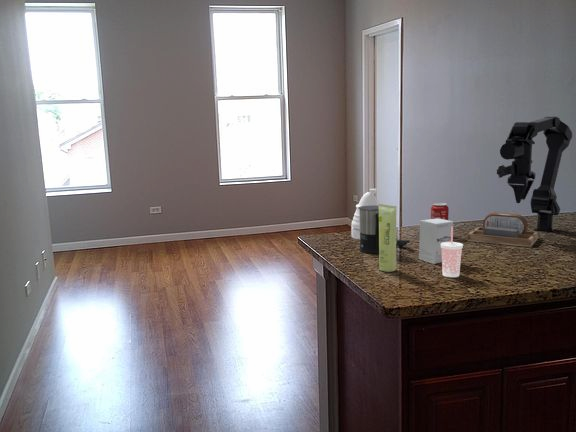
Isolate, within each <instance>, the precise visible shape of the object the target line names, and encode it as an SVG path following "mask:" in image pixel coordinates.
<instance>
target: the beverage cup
mask: <svg viewBox="0 0 576 432" xmlns="http://www.w3.org/2000/svg"><path fill="white" fill-rule="evenodd" d="M453 238H454V226H453V227H451V242H443V243H441V248H442V262H441V267H442V269H441V271H442V276H444V277H446V278H458V277H460V273H461V262H462V261H461V260H462V251H463V248H464V243H461V242H456V241H454V239H453Z"/></svg>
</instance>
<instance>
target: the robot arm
mask: <svg viewBox="0 0 576 432" xmlns="http://www.w3.org/2000/svg"><path fill="white" fill-rule="evenodd" d="M541 132H542V133H543V135H544V136H545V138H546V139H545V143H546V146H547V148H548V150H547V151H548V152H547V155H546V160H545V164H544V169H543V172H542V173H543V174H542V176H541V180H540V185H539V187H538V188H534V189H533V191H532V196H531V198H530V208H531V213H532V214H536V226H535V227H534V228H533V230H535V231H545V232H553V231H554V230H555V229H556V227H555V226H554V216H559V214H560V211H561V207H560V206H559V204H558V202H557V194H556V191H555V185H556V181H557V177H558V172H559V169H560V164H561V160H562V155H563V152H564V151H565V150H566V149H567V148H569V145H570V143H571V140H572V139H573V131H572V130H571V128H570V127H569V125H567V124H566V123H565V122H563V121H562V120H561V119H560V117H558V116H544V117H542V118H540V119H539V118H538V119H536V120H532V121H516V122H514V124H513V125H512V126H511V129H510V131H509V134H508V136H507V139H506V140H505V143H504V144H502V145H501V147H500V149H499V154H500V157H501V158H502V159H503V160H512V162H511V164H510V165H507V166H505V165H504V164H502V165H500V166H498V167H497V169H496V175H498V178H499V179H501V178H504V177H506V176H508V178H507V181H506V182H507V184H508V186H509V187H511V188H512V189H513V193H514V198H515V201H516V204H520V203H521V201H522V200H523V201H525V200H526V198H527V196H528V194H529V192H530V189H531V188H532V186H533V184H534V182H535V179H536V172H535V171H533V170H532V164H533V160H532V155H533V154H532V153H533V145H535V144H536V142H535V140H533V138H535V137H537V136H538V133H541ZM509 175H510V176H509Z"/></svg>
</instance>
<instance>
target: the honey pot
mask: <svg viewBox="0 0 576 432" xmlns="http://www.w3.org/2000/svg"><path fill="white" fill-rule="evenodd" d="M377 191H378V190H377V188H369V191H367V192H365V193H364V194H363V195H362V196H361V198H360V200H359V203H357V204H355V208H356V209H355V212H354V214H353V215H354V216H353V218H352V221H351V238H352V239H355V240H359V241H360V211H359V207H361V206H368V205H379V204H380V203H379V201H378V199H377V197H376V196H375V194H376V193H377Z"/></svg>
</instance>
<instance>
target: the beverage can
mask: <svg viewBox="0 0 576 432" xmlns="http://www.w3.org/2000/svg"><path fill="white" fill-rule="evenodd" d="M449 213H450V212H449V206H448V203H446V202H444V203H443V202H435V203H432V205H431V207H430V219H437V218H438V219H444V220H449Z"/></svg>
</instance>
